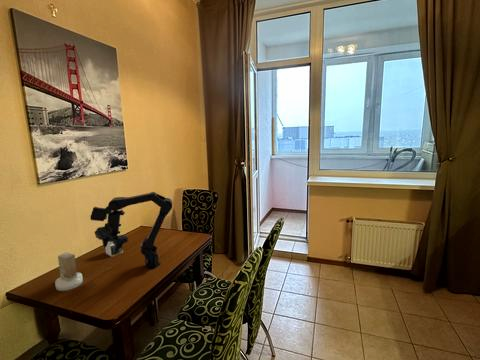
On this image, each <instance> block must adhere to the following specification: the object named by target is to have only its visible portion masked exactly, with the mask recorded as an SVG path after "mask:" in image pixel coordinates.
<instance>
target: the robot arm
mask: <svg viewBox="0 0 480 360" xmlns="http://www.w3.org/2000/svg"><path fill="white" fill-rule="evenodd" d="M147 202H153V203H154V204H155V205H156V206H158V207H160V209H159V213H158V215H157V217H156V218H155V221H154V223H153V226H152V228H151V230H150V232H149V235H148V236H147V237H146V236H144V237H143V241H142V242H141V245H140V247H139V248H140V253H141V254H142V255H143V256H144V261H145V262H144V263H145V265H143V268H145V269H146V268H147V269H150V270H155V269H156V268H157V267H159V266H160V265H161V264H162V263H161V262H160V259H159V254H158V247H157V246H155V241H156V238H157V236H158V233H159V231H160V229H161V227H162V225H163V223H164V221H165V219H166V217H168V215H169V213H170V212H171V211H172V209H173V204H174V203H173V200H172V199H171V198H169V197H165V196H163V195H161V194H159V193H156V192H155V191H151V192H147V193H143V194H138V195H134V196H115V197H113V198H112V199H111V200H110V201H109V202H108V205H107V206H106V207H98V206H94V207H93V208H92V211H91V214H90V218H89V219H90V221H96V222H104V221H105V220H106V221H107V222H106V223H105V224H104V226H100V227H97V228H96V230H95V231H94V235H95V236H94V237H95V238H96V239H98V240H100V241H101V240H102V241H101V242H102V245H103V248H105V247H106V246H107V244H108V241H109V238H110V236H111V237H113V244H114V245H115V247H114V253H115V254H116V253H117V252H118V251H119V249H120V248H121V246H122V247H123V245H124V244H126V243H129V242H128V241H129V237H127V236H126V235H124V234H121V231H120V227H121V226H122V224H121V222H120V221H121V216H124V215H125V213H126V212H125V211H124V210H123V209H124V208H126V207H128V206H133V205H137V204H142V203H147Z"/></svg>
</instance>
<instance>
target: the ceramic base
mask: <svg viewBox="0 0 480 360" xmlns="http://www.w3.org/2000/svg"><path fill="white" fill-rule="evenodd" d="M83 282H84V278H83V274H82V273H81V272H77V278H75V279H73V280H71V281H70V282H68V281H65V280H62V279H61V276H59V277H58V278H57V279H55V281H54V283H55V285H54V286H55V289H56V291H59V292H65V291H69V290H73V289H75V288H77V287H79V286H81V285H82V284H83Z"/></svg>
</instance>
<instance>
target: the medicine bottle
mask: <svg viewBox="0 0 480 360" xmlns="http://www.w3.org/2000/svg"><path fill="white" fill-rule="evenodd" d="M114 247H115V245H114V244H113V237H111V236H110V238H109V241H108V244H107V246H106V247H104V248H105V255H108V256H109V257H115V256H117V255H118V256H119V255H120V254H123V252H124V248H123V245H122V246H121V248H120V249H119V251H118V252H117V253H116V254H115V253H114Z"/></svg>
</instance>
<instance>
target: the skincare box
mask: <svg viewBox="0 0 480 360" xmlns="http://www.w3.org/2000/svg"><path fill="white" fill-rule="evenodd" d="M75 256H76V255H75V254H74V253H70V252H64V253H61V254H59V255H57V259H58V266H59V268H58V269H59V277H61V279H62V280H65V281H68V282H70V281H71V280H73V279H75V278H77V264H76V257H75Z"/></svg>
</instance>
